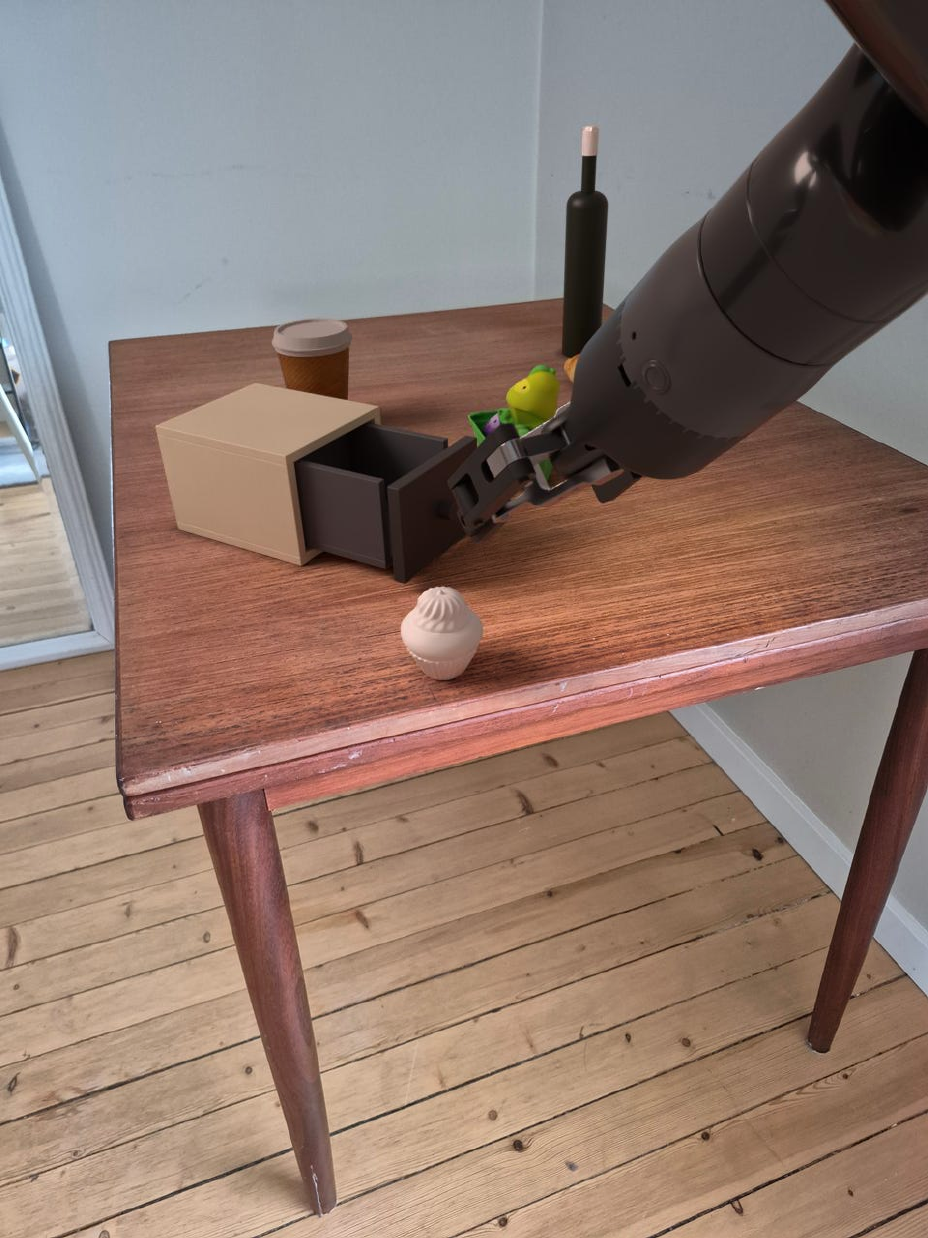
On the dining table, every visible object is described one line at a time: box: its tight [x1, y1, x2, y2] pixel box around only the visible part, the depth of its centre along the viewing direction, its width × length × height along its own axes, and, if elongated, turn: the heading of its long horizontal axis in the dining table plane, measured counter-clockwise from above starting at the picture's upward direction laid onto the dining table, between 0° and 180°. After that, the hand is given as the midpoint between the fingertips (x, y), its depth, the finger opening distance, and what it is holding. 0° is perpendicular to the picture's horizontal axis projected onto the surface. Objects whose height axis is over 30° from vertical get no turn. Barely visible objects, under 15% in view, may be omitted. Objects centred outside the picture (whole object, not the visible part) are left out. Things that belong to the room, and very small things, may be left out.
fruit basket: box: [467, 364, 561, 483], centre depth 96 cm, size 11×9×11 cm
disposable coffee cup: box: [271, 317, 353, 401], centre depth 109 cm, size 10×10×12 cm
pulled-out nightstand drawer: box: [293, 422, 478, 585], centre depth 82 cm, size 16×13×9 cm
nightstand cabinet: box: [154, 382, 382, 567], centre depth 88 cm, size 16×14×11 cm
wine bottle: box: [561, 125, 609, 358], centre depth 127 cm, size 6×6×30 cm
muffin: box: [400, 585, 484, 681], centre depth 66 cm, size 6×6×7 cm
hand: (536, 506), depth 50 cm, fingers open, 8 cm apart
